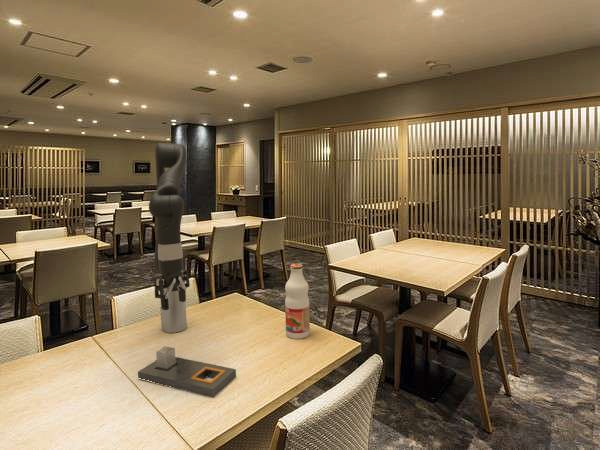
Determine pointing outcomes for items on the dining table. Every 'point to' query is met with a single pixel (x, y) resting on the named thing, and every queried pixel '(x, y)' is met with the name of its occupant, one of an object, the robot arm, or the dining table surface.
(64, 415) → the dining table surface
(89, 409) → the dining table surface
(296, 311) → the fruit juice
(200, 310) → the dining table surface
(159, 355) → the grey square peg
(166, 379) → the grey board with holes
